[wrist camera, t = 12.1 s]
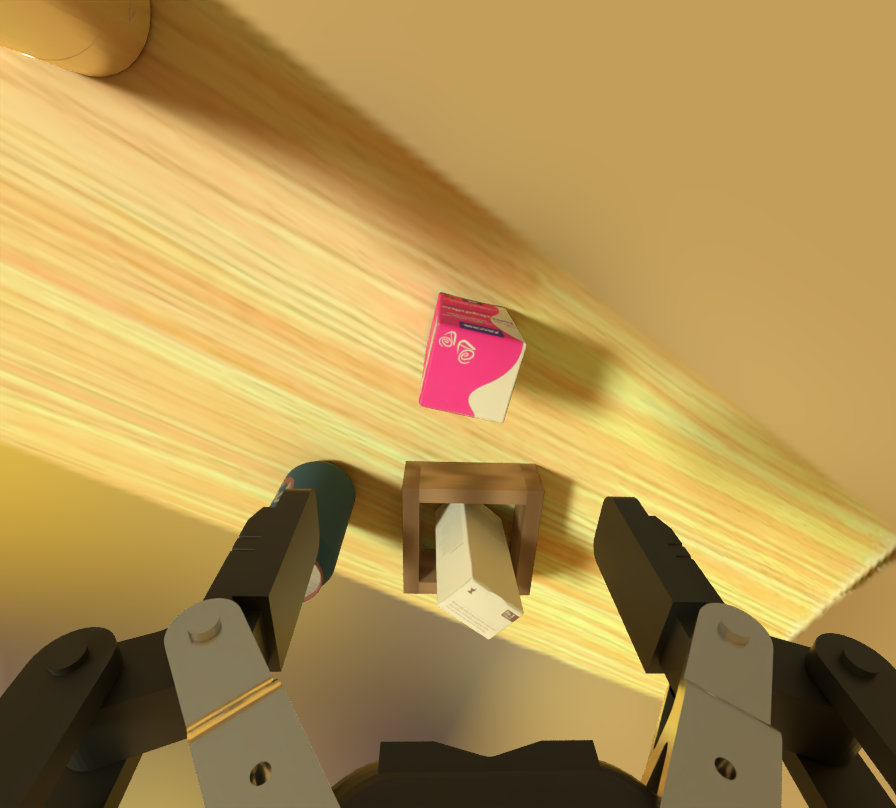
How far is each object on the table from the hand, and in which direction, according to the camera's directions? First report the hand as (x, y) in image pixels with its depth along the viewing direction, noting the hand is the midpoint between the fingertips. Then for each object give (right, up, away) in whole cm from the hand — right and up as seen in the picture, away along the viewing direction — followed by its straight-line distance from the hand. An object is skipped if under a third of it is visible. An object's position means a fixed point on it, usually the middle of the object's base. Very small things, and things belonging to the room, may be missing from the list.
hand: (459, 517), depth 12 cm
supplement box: (+1, +10, +26) cm, 28 cm away
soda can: (-13, -5, +32) cm, 35 cm away
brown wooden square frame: (+2, -8, +34) cm, 35 cm away
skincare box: (+2, -8, +34) cm, 35 cm away
